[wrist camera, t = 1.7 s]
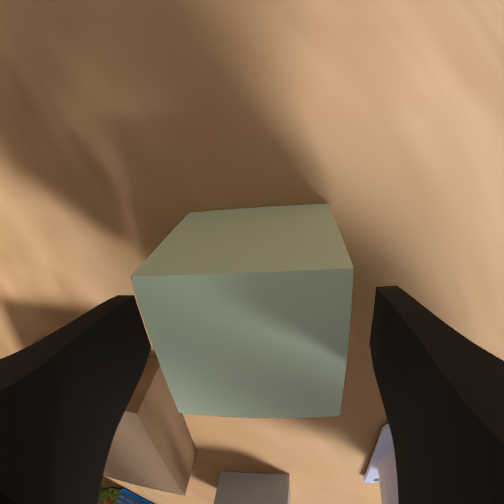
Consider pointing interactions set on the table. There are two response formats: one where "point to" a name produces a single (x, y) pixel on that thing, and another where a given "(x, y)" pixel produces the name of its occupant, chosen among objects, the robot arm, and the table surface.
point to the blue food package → (119, 497)
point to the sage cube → (251, 311)
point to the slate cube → (252, 488)
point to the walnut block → (152, 438)
